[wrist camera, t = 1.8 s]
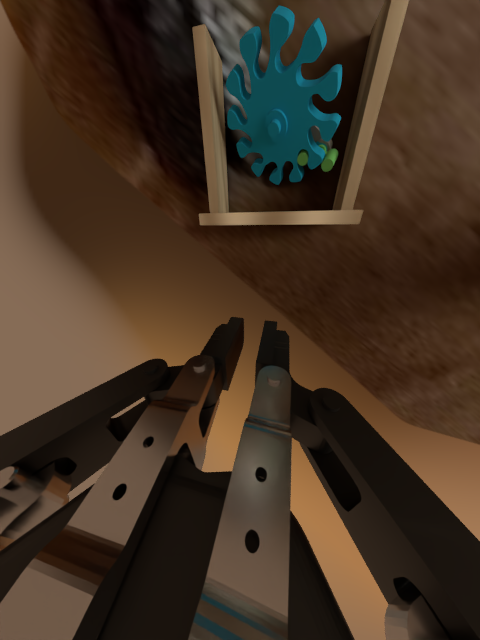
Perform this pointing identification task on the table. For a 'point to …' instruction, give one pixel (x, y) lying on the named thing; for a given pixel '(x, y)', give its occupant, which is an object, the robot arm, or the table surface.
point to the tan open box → (358, 139)
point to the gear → (284, 102)
